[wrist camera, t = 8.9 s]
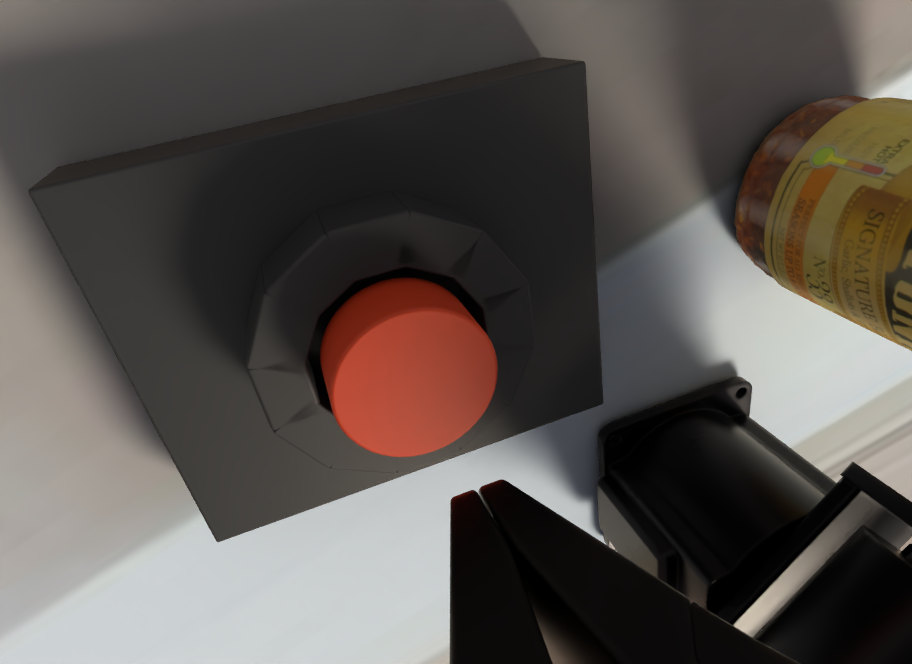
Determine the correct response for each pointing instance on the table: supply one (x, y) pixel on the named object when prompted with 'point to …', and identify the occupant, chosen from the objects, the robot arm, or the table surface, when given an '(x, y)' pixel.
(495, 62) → the table surface
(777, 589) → the robot arm
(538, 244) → the button box
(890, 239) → the sauce bottle
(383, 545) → the table surface
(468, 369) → the button
